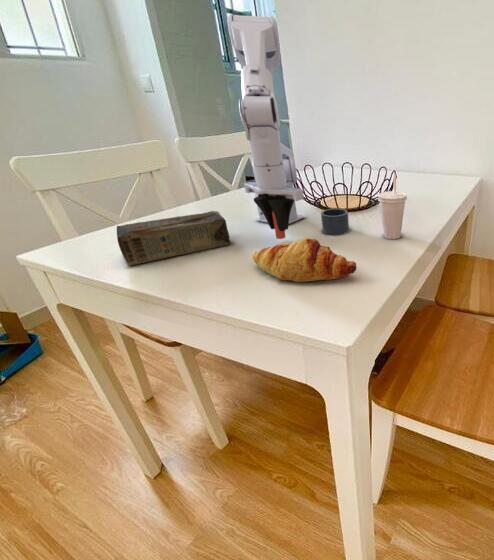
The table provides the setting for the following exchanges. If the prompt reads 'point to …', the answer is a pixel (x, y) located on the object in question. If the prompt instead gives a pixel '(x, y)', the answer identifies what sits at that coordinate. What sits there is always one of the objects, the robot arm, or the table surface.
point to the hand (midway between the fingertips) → (279, 228)
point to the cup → (335, 221)
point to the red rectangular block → (278, 233)
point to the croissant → (303, 261)
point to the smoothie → (392, 211)
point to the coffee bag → (171, 237)
